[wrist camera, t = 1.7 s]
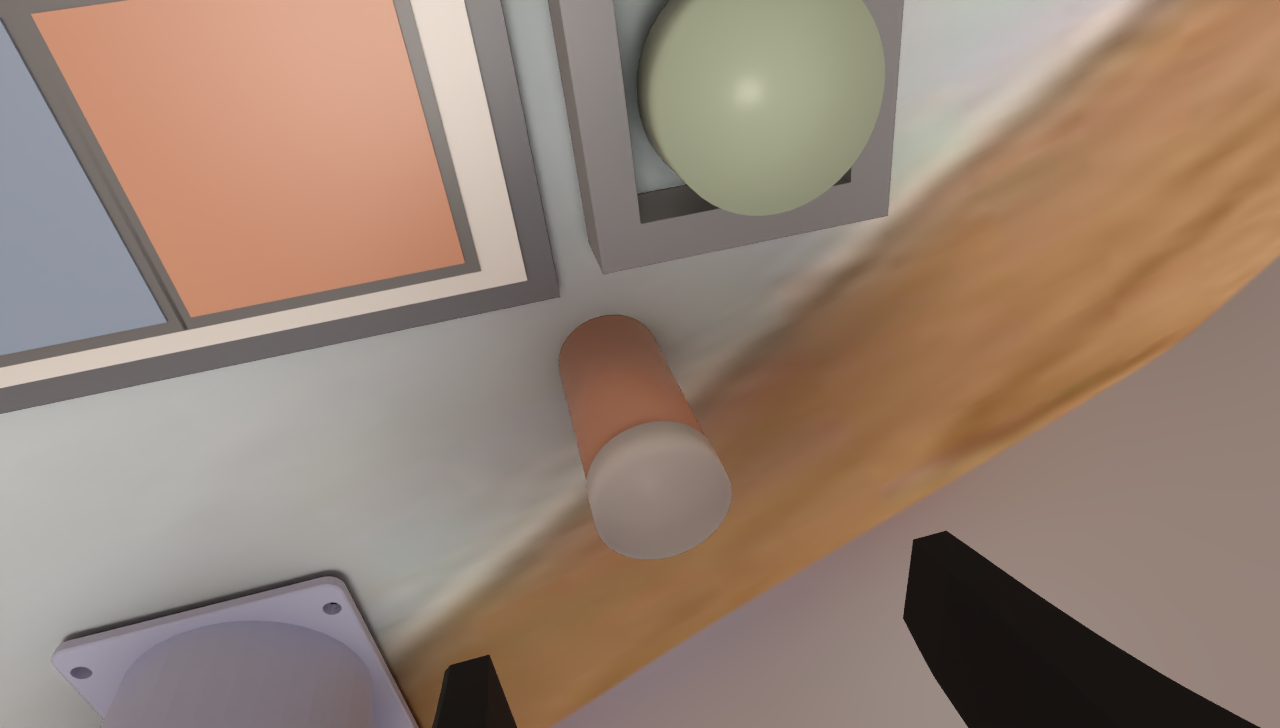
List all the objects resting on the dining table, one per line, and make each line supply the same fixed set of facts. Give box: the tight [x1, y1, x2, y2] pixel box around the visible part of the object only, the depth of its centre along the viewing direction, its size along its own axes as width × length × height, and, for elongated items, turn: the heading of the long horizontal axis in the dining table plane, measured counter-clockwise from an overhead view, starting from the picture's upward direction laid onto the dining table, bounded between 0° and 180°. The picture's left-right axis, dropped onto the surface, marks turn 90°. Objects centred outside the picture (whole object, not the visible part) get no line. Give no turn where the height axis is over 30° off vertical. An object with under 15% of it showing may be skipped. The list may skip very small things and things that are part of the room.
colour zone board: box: [0, 0, 560, 414], centre depth 13 cm, size 13×16×1 cm
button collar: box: [548, 0, 904, 274], centre depth 15 cm, size 7×7×2 cm
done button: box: [637, 0, 885, 216], centre depth 14 cm, size 4×4×2 cm
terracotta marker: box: [559, 315, 732, 560], centre depth 17 cm, size 3×3×6 cm
